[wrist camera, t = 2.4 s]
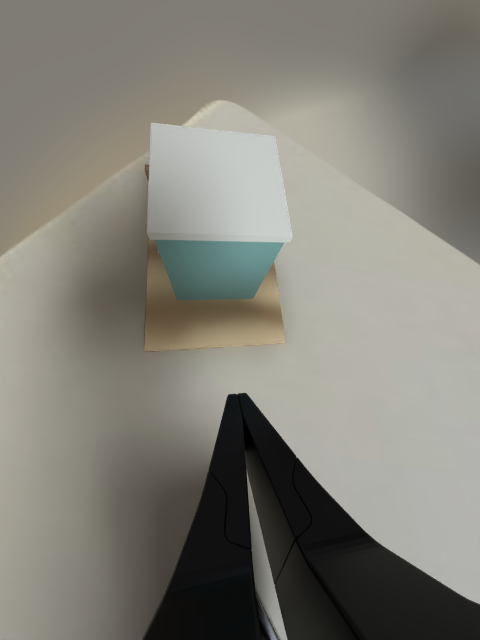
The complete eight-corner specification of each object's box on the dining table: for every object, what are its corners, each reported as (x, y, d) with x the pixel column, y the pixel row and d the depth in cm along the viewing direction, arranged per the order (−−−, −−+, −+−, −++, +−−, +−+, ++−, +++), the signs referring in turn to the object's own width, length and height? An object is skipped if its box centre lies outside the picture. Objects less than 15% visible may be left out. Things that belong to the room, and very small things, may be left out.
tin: (255, 300, 23) (292, 236, 13) (175, 302, 21) (146, 232, 11) (247, 234, 25) (274, 136, 15) (175, 232, 24) (151, 122, 14)
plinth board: (283, 343, 23) (294, 337, 20) (145, 351, 20) (135, 346, 17) (262, 195, 28) (268, 174, 25) (152, 188, 26) (145, 164, 23)
